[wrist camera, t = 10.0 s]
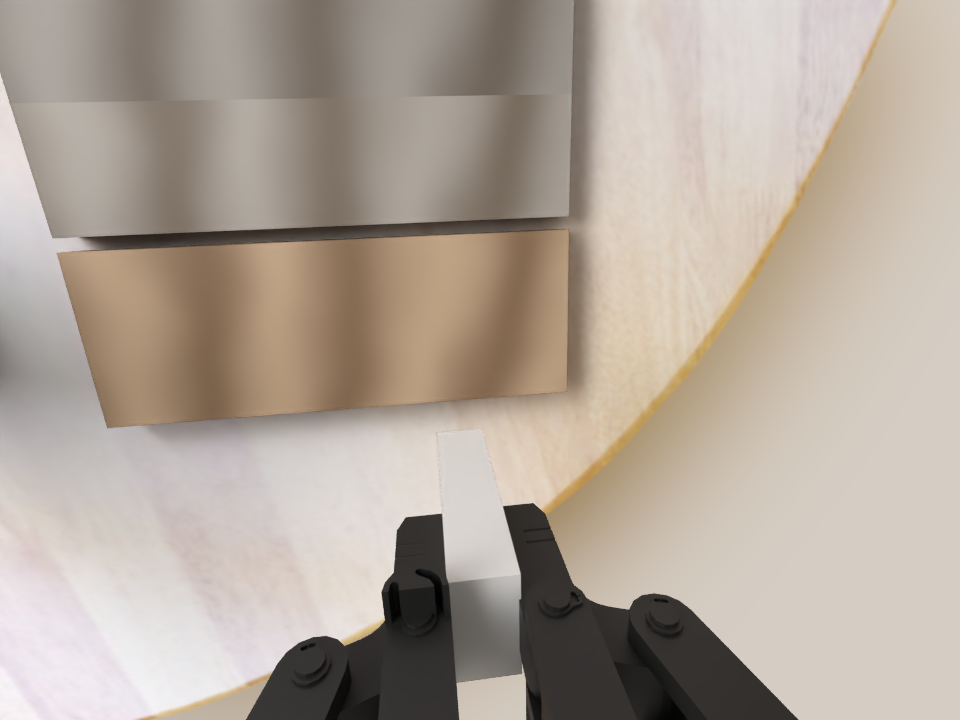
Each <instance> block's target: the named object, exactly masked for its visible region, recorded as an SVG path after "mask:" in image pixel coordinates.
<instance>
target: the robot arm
mask: <svg viewBox="0 0 960 720" xmlns="http://www.w3.org/2000/svg"><path fill="white" fill-rule="evenodd" d="M437 442H438V457H439V472H440V488H441V503H442V514H435V515H425V516H416V517H406V518H405V519H404V521H403V522H402V524H401V526H400V527H399V529H398V530H397V538H396V552H395V565H394V573H393V574H392V575H391V576H390V578H389V579H388V580H387V581H386V582H385V584H384V587H383V590H382V600H383V608H384V616H385V621H384V623H383V624H382V625H381V626H380V627H379V628H378V629H377V630H376V631H374V632H373V633H372V634H370V635H368V636H366V637H365V638H363V639H361V640H358V641H356V642H353V643H351V644H349V645H346V646H344V645H343V644H342V643H341V642H340V641H339V640H338V639H334V638H331V637H327V636H322V637H313V638H310V639H308V640H305V641H303V642H300V643H298V644H297V645H296V646H294V647H293V648H292V649H290V650H289V651H288V652H287V653H286V654H285V655H284V656H283V658H282V659H281V660H280V661H279V663H278V664H277V666H276V668H275V669H274V671H273V673H272V675H271V676H270V678H269V680H268V682H267V684H266V686H265V687H264V689H263V691H262V693H261V695H260V696H259V698H258V700H257V701H256V703H255V705H254V707H253V708H252V710H251V712H250V714H249V715H248V717H247V719H246V720H459V712H458V699H457V686H456V683H458V682H465V681H473V680H480V679H487V678H495V677H502V676H509V675H516V674H522V664H523V668H524V673H525V677H526V720H798V719H797V718H796V717H795V716H794V715H793V714H792V713H791V712H790V711H789V710H788V709H787V708H786V707H785V706H784V705H783V704H782V703H781V701H780V700H779V699H778V698H777V697H776V696H775V695H774V694H773V693H772V692H771V691H770V690H769V689H768V688H767V687H766V686H765V685H764V684H763V683H762V682H761V681H760V680H759V679H758V678H757V677H756V676H755V675H754V674H753V673H752V672H751V671H750V670H749V669H748V668H747V667H746V666H745V665H744V664H743V663H742V662H741V661H740V660H739V658H738V657H737V656H736V655H735V654H734V653H733V652H732V651H731V650H730V649H729V648H728V647H727V646H726V645H725V644H724V643H723V642H722V641H721V640H720V639H719V638H718V637H717V636H716V635H715V634H714V633H713V632H712V631H711V630H710V629H709V628H708V627H707V626H706V625H705V624H704V623H703V622H702V621H701V620H700V619H699V618H698V617H697V616H696V615H695V614H694V612H693V611H692V610H690V609H689V608H688V607H687V606H685V605H684V604H683V603H681V602H680V601H679V600H676V599H674V598H671V597H669V596H667V595H660V594H648V595H642V596H640V597H639V598H638V599H636V600H634V601H633V603H632V605H631V607H630V609H629V610H626V609H620V608H614V607H608V606H604V605H600V604H597V603H595V602H593V601H590V600H589V599H587V598H586V597H585V595H584V594H583V592H582V591H581V590H580V589H578V588H577V587H576V586H574V584H573V583H572V581H571V578H570V576H569V573H568V571H567V568H566V565H565V563H564V560H563V558H562V555H561V553H560V550H559V548H558V545H557V543H556V541H555V538H554V535H553V532H552V530H551V528H550V525H549V523H548V520H547V517H546V515H545V513H544V512H542V511H541V510H540V509H539V508H538V507H537V506H536V505H535V504H534V503H531V504H521V505H511V506H503V505H502V502H501V498H500V494H499V490H498V487H497V483H496V479H495V475H494V471H493V468H492V464H491V460H490V456H489V453H488V449H487V445H486V441H485V437H484V434H483V430H482V429H470V430H458V431H446V432H437Z"/></svg>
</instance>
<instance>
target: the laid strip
mask: <svg viewBox="0 0 960 720" xmlns="http://www.w3.org/2000/svg"><path fill="white" fill-rule="evenodd" d="M573 25H574V0H0V73H1V77H2V80H3V83H4V86H5V89H6V92H7V96H8V99H9V102H10V105H11V108H12V111H13V115H14V118H15V121H16V124H17V127H18V130H19V134H20V137H21V140H22V143H23V146H24V150H25V153H26V156H27V159H28V162H29V165H30V169H31V172H32V175H33V178H34V181H35V184H36V188H37V191H38V194H39V197H40V200H41V203H42V207H43V210H44V213H45V216H46V219H47V223H48V226H49V229H50V232H51V235H52V238H69V237H92V236H116V235H140V234H163V233H187V232H210V231H234V230H257V229H281V228H304V227H328V226H351V225H375V224H398V223H422V222H445V221H469V220H492V219H516V218H539V217H563V216H569V196H570V153H571V110H572V68H573Z"/></svg>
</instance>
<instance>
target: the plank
mask: <svg viewBox="0 0 960 720" xmlns="http://www.w3.org/2000/svg"><path fill="white" fill-rule="evenodd" d="M568 254H569V230H566V229H550V230H528V231H506V232H484V233H462V234H439V235H417V236H395V237H373V238H351V239H329V240H306V241H284V242H262V243H240V244H218V245H196V246H174V247H151V248H129V249H107V250H85V251H72V252H62V253H57V255H58V259H59V262H60V266H61V269H62V273H63V276H64V280H65V283H66V287H67V290H68V293H69V297H70V300H71V304H72V307H73V311H74V314H75V318H76V321H77V325H78V328H79V332H80V335H81V339H82V342H83V345H84V349H85V352H86V356H87V359H88V363H89V366H90V370H91V373H92V377H93V380H94V384H95V387H96V391H97V394H98V398H99V401H100V404H101V408H102V411H103V415H104V418H105V422H106V425H107V428H113V427H126V426H138V425H151V424H164V423H176V422H189V421H201V420H214V419H227V418H239V417H252V416H264V415H277V414H290V413H302V412H315V411H327V410H340V409H353V408H365V407H378V406H390V405H403V404H416V403H428V402H441V401H453V400H466V399H479V398H491V397H504V396H516V395H529V394H542V393H554V392H567V330H568Z"/></svg>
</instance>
